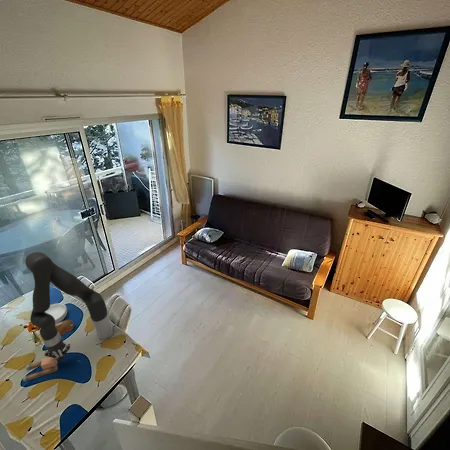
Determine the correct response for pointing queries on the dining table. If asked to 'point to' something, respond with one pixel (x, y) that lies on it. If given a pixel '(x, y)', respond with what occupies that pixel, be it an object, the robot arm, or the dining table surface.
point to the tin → (64, 326)
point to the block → (48, 363)
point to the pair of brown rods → (38, 372)
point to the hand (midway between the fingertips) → (62, 358)
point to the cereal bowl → (57, 311)
